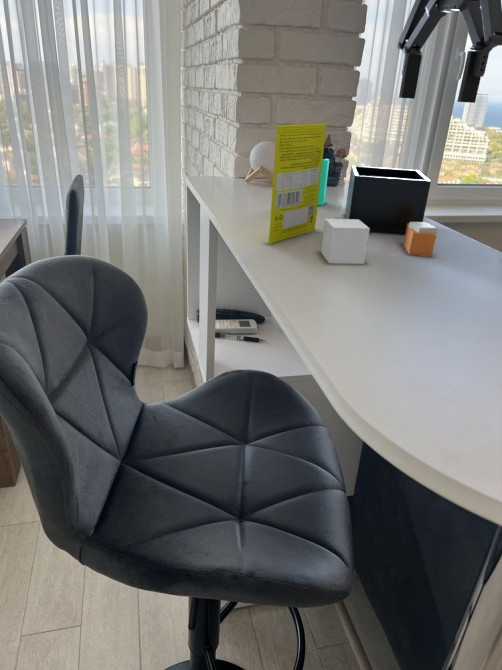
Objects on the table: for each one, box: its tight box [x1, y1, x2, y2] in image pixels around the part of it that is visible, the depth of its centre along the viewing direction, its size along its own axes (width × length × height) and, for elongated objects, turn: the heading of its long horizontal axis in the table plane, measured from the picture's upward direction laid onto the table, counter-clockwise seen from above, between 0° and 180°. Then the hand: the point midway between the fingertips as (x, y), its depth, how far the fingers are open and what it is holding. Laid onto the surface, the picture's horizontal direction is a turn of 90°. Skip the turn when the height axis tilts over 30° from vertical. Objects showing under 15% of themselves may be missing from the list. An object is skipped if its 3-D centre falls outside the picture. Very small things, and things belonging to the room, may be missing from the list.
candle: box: [318, 158, 330, 206], centre depth 124 cm, size 6×6×12 cm
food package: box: [268, 123, 327, 245], centre depth 92 cm, size 15×1×20 cm, turn 141°
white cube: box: [320, 218, 370, 265], centre depth 85 cm, size 6×6×6 cm
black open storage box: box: [344, 165, 432, 236], centre depth 107 cm, size 15×15×11 cm
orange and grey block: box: [403, 221, 438, 258], centre depth 92 cm, size 4×7×5 cm, turn 172°
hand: (434, 100), depth 80 cm, fingers open, 13 cm apart
